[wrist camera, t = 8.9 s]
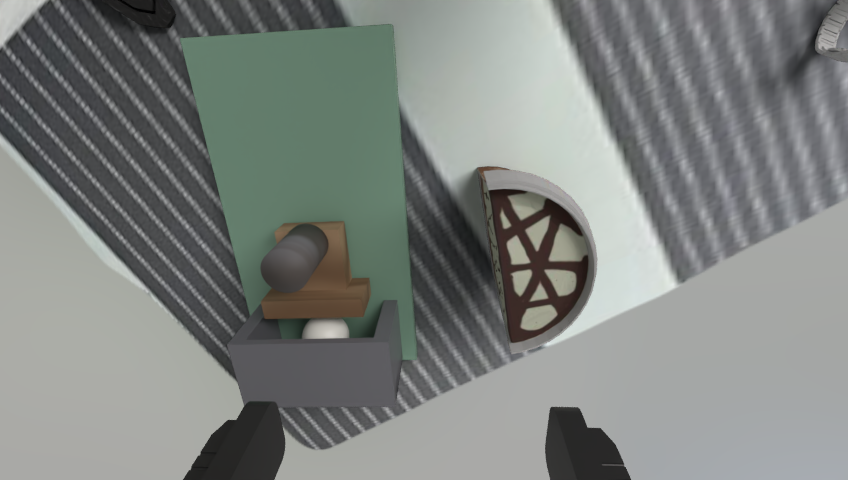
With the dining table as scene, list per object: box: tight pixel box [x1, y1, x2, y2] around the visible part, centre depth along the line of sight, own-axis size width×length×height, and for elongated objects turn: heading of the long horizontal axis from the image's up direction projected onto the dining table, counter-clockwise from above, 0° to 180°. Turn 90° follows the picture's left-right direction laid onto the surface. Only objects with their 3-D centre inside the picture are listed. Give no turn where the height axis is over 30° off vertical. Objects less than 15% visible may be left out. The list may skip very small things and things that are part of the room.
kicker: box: [260, 221, 371, 319], centre depth 31 cm, size 7×8×7 cm
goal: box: [227, 300, 403, 407], centre depth 34 cm, size 6×12×6 cm, turn 93°
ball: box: [302, 317, 349, 339], centre depth 35 cm, size 4×4×4 cm
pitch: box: [180, 24, 417, 360], centre depth 33 cm, size 28×15×1 cm, turn 3°
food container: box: [477, 166, 597, 354], centre depth 28 cm, size 12×6×10 cm, turn 11°
